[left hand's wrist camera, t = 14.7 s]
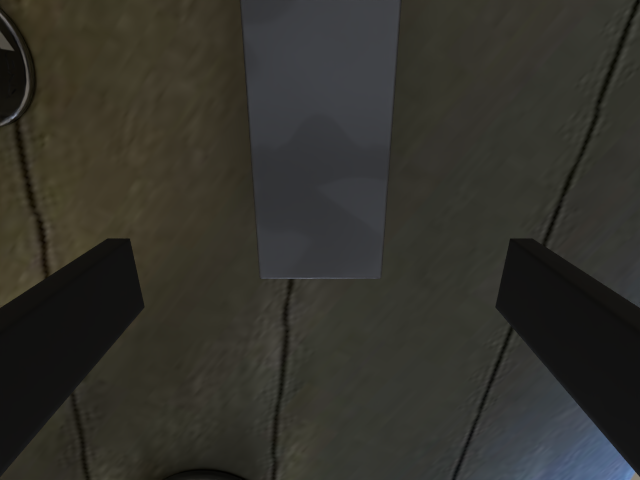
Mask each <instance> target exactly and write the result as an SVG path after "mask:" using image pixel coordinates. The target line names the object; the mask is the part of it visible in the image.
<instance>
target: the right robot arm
mask: <svg viewBox="0 0 640 480" xmlns="http://www.w3.org/2000/svg"><path fill="white" fill-rule="evenodd" d="M34 84H35V76H34V68H33V63H32V59H31V55H30V53H29V50H28V47H27V45H26V43H25V41H24V39H23V37H22V35H21V34H20V32H19V30H18V29H17V27H16V26H15V25H14V23H13V22H12V21H11V19H10V18H9V17H8V16H7V15H6V14H5V12H4V11H2V10H1V9H0V127H3V126H6V125H8V124H11V123H12V122H14V121H16V120H17V119H18V118H20V117H21V116H22V115H23V114H24V112H25V111H26V110H27V108H28V106H29V104H30V102H31V100H32V96H33V92H34Z"/></svg>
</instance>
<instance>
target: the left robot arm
mask: <svg viewBox="0 0 640 480" xmlns="http://www.w3.org/2000/svg"><path fill="white" fill-rule="evenodd" d="M143 308H144V302H143V298H142V293H141V288H140V284H139V279H138V274H137V270H136V265H135V261H134V256H133V251H132V247H131V242H130V239H106V240H105V241H103V242H102V243H100V244H98V245H97V246H95V247H94V248H92V249H91V250H89V251H88V252H86V253H85V254H83V255H81V256H80V257H78V258H77V259H75V260H74V261H72V262H71V263H69V264H68V265H66V266H64V267H63V268H61V269H60V270H58V271H57V272H55V273H54V274H52V275H51V276H49V277H47V278H46V279H44V280H43V281H41V282H40V283H38V284H37V285H35V286H34V287H32V288H30V289H29V290H27V291H26V292H24V293H23V294H21V295H20V296H18V297H17V298H15V299H13V300H12V301H10V302H9V303H7V304H6V305H4V306H3V307H1V308H0V476H1V475H2V474H3V473H4V472H5V471H6V469H7V468H8V467H9V466H10V465H11V464H12V462H13V461H14V460H15V459H16V458H17V456H18V455H19V454H20V453H21V452H22V451H23V449H24V448H25V447H26V446H27V445H28V444H29V442H30V441H31V440H32V439H33V438H34V436H35V435H36V434H37V433H38V432H39V431H40V429H41V428H42V427H43V426H44V425H45V424H46V422H47V421H48V420H49V419H50V418H51V417H52V415H53V414H54V413H55V412H56V411H57V409H58V408H59V407H60V406H61V405H62V404H63V402H64V401H65V400H66V399H67V398H68V397H69V395H70V394H71V393H72V392H73V391H74V389H75V388H76V387H77V386H78V385H79V384H80V382H81V381H82V380H83V379H84V378H85V377H86V375H87V374H88V373H89V372H90V371H91V370H92V368H93V367H94V366H95V365H96V364H97V362H98V361H99V360H100V359H101V358H102V357H103V355H104V354H105V353H106V352H107V351H108V350H109V348H110V347H111V346H112V345H113V344H114V342H115V341H116V340H117V339H118V338H119V337H120V335H121V334H122V333H123V332H124V331H125V330H126V328H127V327H128V326H129V325H130V324H131V323H132V321H133V320H134V319H135V318H136V317H137V315H138V314H139V313H140V312H141V311H142V310H143ZM496 308H497V310H498V311H499V312H500V313H501V314H502V315H503V317H504V318H505V319H506V320H507V321H508V323H509V324H510V325H511V326H512V327H513V328H514V330H515V331H516V332H517V333H518V334H519V335H520V337H521V338H522V339H523V340H524V341H525V342H526V344H527V345H528V346H529V347H530V348H531V350H532V351H533V352H534V353H535V354H536V355H537V357H538V358H539V359H540V360H541V361H542V362H543V364H544V365H545V366H546V367H547V368H548V370H549V371H550V372H551V373H552V374H553V375H554V377H555V378H556V379H557V380H558V381H559V382H560V384H561V385H562V386H563V387H564V388H565V389H566V391H567V392H568V393H569V394H570V395H571V397H572V398H573V399H574V400H575V401H576V402H577V404H578V405H579V406H580V407H581V408H582V409H583V411H584V412H585V413H586V414H587V415H588V417H589V418H590V419H591V420H592V421H593V422H594V424H595V425H596V426H597V427H598V428H599V429H600V431H601V432H602V433H603V434H604V435H605V436H606V438H607V439H608V440H609V441H610V442H611V444H612V445H613V446H614V447H615V448H616V449H617V451H618V452H619V453H620V454H621V455H622V456H623V458H624V459H625V460H626V461H627V462H628V464H629V465H630V466H631V467H632V468H633V469H634V471H635V472H636V473H637V474H638V475H639V476H640V308H639V307H637V306H636V305H634V304H633V303H631V302H630V301H628V300H627V299H625V298H623V297H622V296H620V295H619V294H617V293H616V292H614V291H613V290H611V289H610V288H608V287H606V286H605V285H603V284H602V283H600V282H599V281H597V280H596V279H594V278H593V277H591V276H589V275H588V274H586V273H585V272H583V271H582V270H580V269H579V268H577V267H576V266H574V265H572V264H571V263H569V262H568V261H566V260H565V259H563V258H562V257H560V256H559V255H557V254H555V253H554V252H552V251H551V250H549V249H548V248H546V247H545V246H543V245H542V244H540V243H538V242H537V241H535V240H534V239H510V242H509V247H508V251H507V256H506V261H505V265H504V270H503V274H502V279H501V284H500V288H499V293H498V298H497V302H496ZM165 480H242V479H240V478H238V477H235V476H233V475H229V474H226V473H221V472H216V471H189V472H183V473H179V474H176V475H173V476H171V477H168V478H167V479H165Z"/></svg>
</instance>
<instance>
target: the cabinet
mask: <svg viewBox="0 0 640 480" xmlns="http://www.w3.org/2000/svg"><path fill="white" fill-rule="evenodd" d="M240 8H241V22H242V36H243V50H244V64H245V78H246V92H247V106H248V121H249V135H250V149H251V163H252V177H253V191H254V205H255V219H256V234H257V248H258V262H259V276H260V278H261V279H380V278H381V275H382V261H383V247H384V234H385V220H386V206H387V192H388V178H389V164H390V151H391V137H392V123H393V109H394V95H395V81H396V68H397V54H398V40H399V26H400V12H401V0H240Z"/></svg>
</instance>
